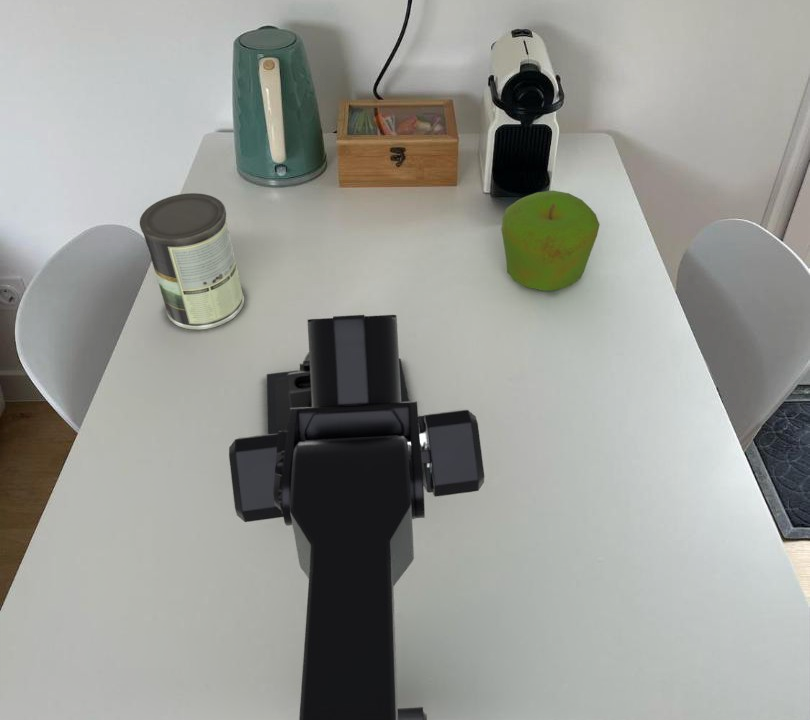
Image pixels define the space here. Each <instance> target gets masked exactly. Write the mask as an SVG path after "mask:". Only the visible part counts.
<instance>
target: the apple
mask: <svg viewBox="0 0 810 720" xmlns="http://www.w3.org/2000/svg"><path fill="white" fill-rule="evenodd" d="M592 209H593V208H591V207H590V206H589V205H588V204H587V203H586V202H585V201H584V200H583V199H581V198H579V197H578V196H575V195H573V194H571V193H569V192H564V191H560V190H559V191H558V190H545V191H538V192H534V193H532V194H529V195H526V196H524V197H522V198H520V199H518V200H516V201H515V202H513V203H512V204H511V205H509V206H508V207H507V208H506V209H505V212H504V214H503V217H502V219H501V221H502V222H501V236H502V240H503V241H502V242H503V247H504V255H505V261H506V273H507V274H508V275H509V276H510V277H511V279H512V280H513V281H514V282H516V283H518V284H520V285H522V286H524V287H525V288H529V289H536V290H539V291H542V292H553V291H558V290H561V289H564V288H567V287H570V286H573V285H574V284H575V283H576V282H578V281H579V280H581V279H582V276H583V274H584V272H585V270H586V267H587V264H588V261H589V259H590V256H591V253H592V251H593V248H594V245H595V243H596V240H597V237H598V234H599V230H600V222H599V219H598V217H597V214H596V213H595V212H594V210H592Z"/></svg>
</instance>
